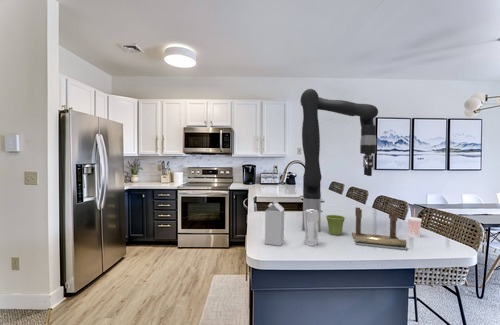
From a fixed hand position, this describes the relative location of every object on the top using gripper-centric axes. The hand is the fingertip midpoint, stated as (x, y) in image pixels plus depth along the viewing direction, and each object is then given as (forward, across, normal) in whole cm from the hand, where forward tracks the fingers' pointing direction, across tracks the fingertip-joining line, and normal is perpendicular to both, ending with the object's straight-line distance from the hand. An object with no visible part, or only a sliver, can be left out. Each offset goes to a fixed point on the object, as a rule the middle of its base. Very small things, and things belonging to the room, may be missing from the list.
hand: (367, 175), depth 124 cm
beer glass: (+30, +27, -27) cm, 49 cm away
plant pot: (+30, +7, -16) cm, 35 cm away
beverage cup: (+30, -2, +22) cm, 37 cm away
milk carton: (+30, +31, -43) cm, 61 cm away
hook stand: (+30, +10, +2) cm, 32 cm away
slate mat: (+30, +19, +2) cm, 36 cm away
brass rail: (+28, +19, +2) cm, 34 cm away
